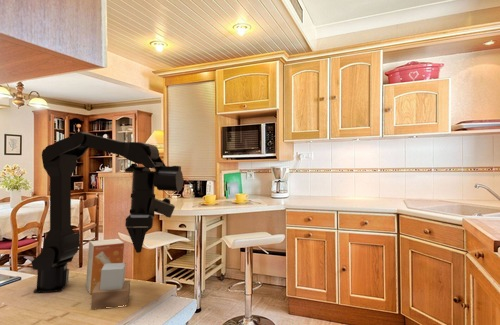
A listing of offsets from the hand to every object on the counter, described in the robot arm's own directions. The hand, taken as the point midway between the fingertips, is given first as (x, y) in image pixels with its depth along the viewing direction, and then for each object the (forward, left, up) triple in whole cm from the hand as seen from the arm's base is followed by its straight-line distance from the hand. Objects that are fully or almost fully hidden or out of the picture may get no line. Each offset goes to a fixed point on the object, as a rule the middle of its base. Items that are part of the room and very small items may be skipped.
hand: (139, 247), depth 79 cm
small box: (-10, +8, -13) cm, 18 cm away
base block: (-6, -2, -13) cm, 15 cm away
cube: (-6, -2, -9) cm, 11 cm away
